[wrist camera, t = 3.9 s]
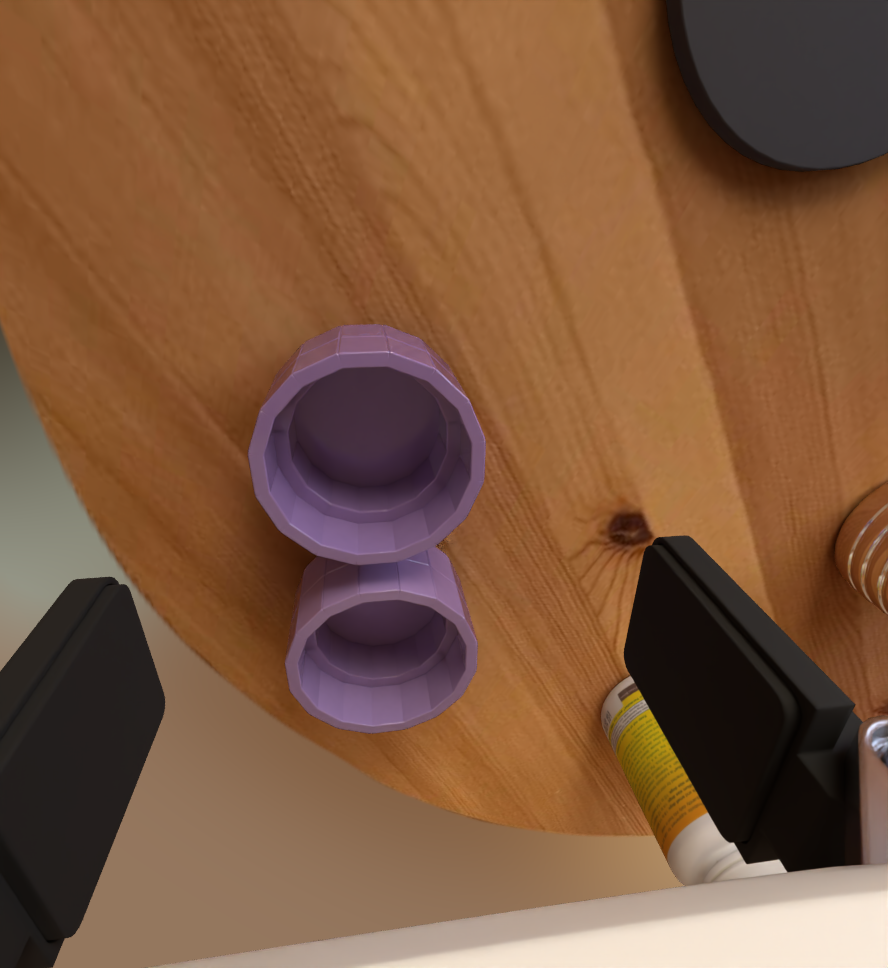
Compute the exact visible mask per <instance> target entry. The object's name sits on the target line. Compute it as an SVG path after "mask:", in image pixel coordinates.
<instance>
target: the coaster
mask: <svg viewBox="0 0 888 968" xmlns="http://www.w3.org/2000/svg"><path fill="white" fill-rule="evenodd" d="M666 3H667V13H668V23H669V29H670V33H671V38H672V43H673V48H674V53H675V56H676V59H677V62H678V65H679V68H680V71H681V74H682V77H683V80H684V83H685V85H686V87H687V89H688V91H689V93H690V95H691V97H692V99H693V101H694V103H695V105H696V107H697V108H698V109H699V111H700V112H701V114H702V115H703V117H704V118H705V120H706V121H707V123H708V124H709V125H710V127H711V128H712V129H713V130H714V131H715V132H716V133H717V134H718V135H719V136H720V137H721V138H722V139H723V140H724V141H725V142H726V143H727V144H729V145H730V146H731V147H733V148H734V149H735V150H737V151H738V152H739V153H741V154H742V155H744V156H746V157H748V158H750V159H752V160H754V161H756V162H758V163H760V164H763V165H766V166H770V167H773V168H777V169H780V170H789V171H800V172H804V171H818V170H832V169H840V168H844V167H849V166H853V165H858V164H861V163H864V162H867V161H869V160H872V159H874V158H877V157H880V156H882V155H884V154H886V153H888V0H666Z"/></svg>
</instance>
